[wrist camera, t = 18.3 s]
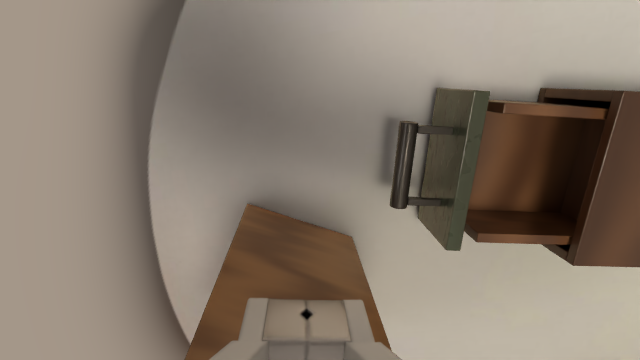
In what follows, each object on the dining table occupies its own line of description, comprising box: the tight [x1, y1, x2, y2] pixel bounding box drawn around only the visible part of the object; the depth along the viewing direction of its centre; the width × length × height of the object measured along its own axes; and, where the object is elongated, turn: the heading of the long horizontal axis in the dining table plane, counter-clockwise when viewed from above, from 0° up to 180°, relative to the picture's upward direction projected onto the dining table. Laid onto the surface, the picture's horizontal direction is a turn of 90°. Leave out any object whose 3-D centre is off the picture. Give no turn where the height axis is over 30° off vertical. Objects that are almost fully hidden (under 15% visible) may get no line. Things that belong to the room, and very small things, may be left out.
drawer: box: [390, 88, 609, 251], centre depth 30 cm, size 19×12×7 cm, turn 87°
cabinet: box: [537, 88, 640, 267], centre depth 31 cm, size 16×14×9 cm
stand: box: [185, 204, 392, 360], centre depth 25 cm, size 11×11×22 cm
